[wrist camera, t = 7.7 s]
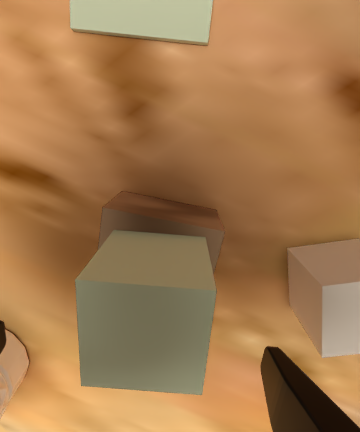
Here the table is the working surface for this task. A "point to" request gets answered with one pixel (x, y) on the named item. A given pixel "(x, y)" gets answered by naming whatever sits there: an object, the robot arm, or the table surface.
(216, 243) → the walnut base
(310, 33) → the table surface
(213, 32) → the table surface
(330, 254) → the grey block
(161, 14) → the tile
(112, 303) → the sage block
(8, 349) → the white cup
